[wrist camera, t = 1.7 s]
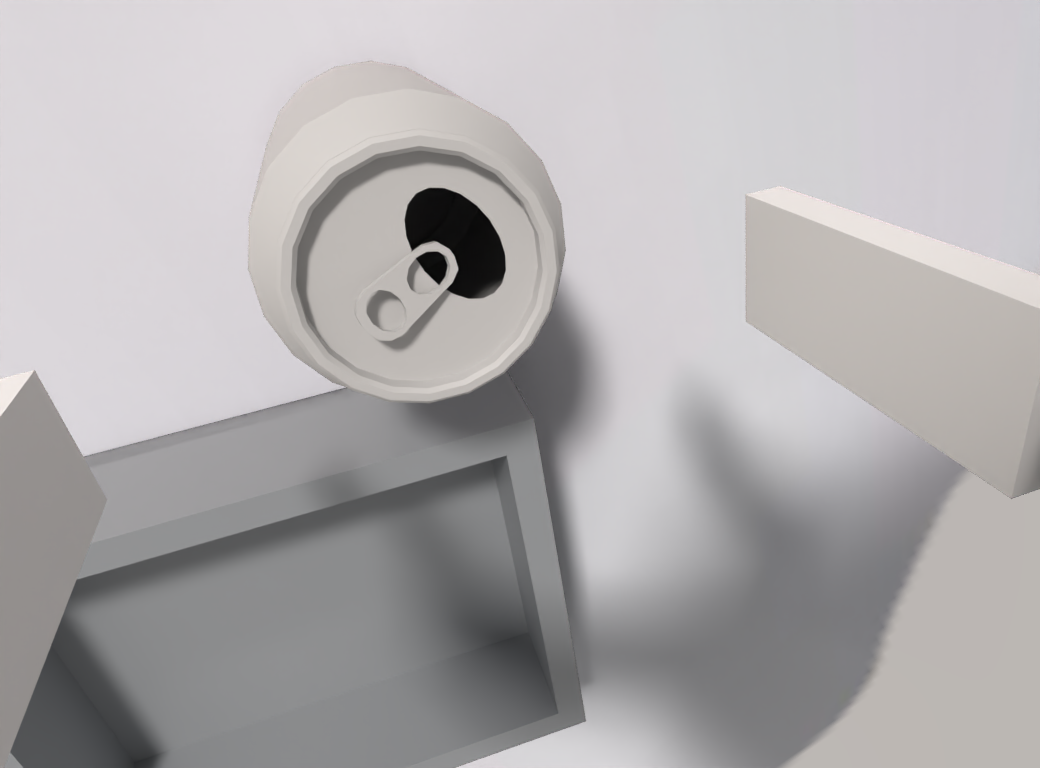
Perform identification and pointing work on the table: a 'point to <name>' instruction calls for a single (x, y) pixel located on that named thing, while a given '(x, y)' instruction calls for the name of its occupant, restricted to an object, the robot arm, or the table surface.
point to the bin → (315, 595)
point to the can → (402, 235)
